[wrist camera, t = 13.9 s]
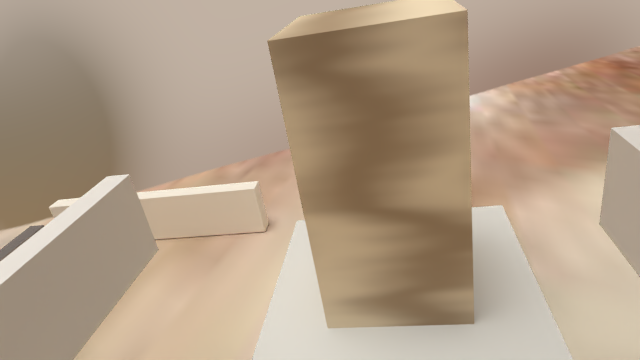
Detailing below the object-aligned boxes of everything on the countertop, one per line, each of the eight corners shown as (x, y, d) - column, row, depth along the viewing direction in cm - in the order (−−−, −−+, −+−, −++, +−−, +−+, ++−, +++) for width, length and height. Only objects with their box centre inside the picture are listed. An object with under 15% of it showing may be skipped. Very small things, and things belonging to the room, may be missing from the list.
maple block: (454, 239, 23) (443, -8, 18) (474, 324, 18) (467, 9, 13) (340, 246, 24) (299, 16, 19) (327, 328, 19) (267, 40, 14)
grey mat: (501, 209, 26) (502, 205, 25) (584, 392, 15) (585, 386, 15) (297, 225, 28) (297, 220, 28) (244, 393, 17) (242, 387, 17)
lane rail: (268, 222, 29) (258, 181, 27) (265, 231, 28) (254, 188, 26) (76, 237, 31) (58, 199, 30) (67, 245, 30) (48, 207, 29)
